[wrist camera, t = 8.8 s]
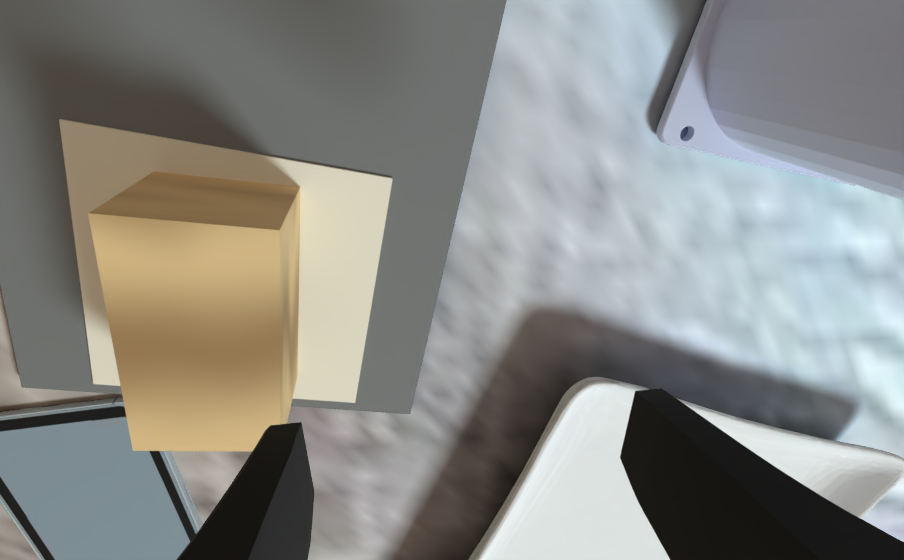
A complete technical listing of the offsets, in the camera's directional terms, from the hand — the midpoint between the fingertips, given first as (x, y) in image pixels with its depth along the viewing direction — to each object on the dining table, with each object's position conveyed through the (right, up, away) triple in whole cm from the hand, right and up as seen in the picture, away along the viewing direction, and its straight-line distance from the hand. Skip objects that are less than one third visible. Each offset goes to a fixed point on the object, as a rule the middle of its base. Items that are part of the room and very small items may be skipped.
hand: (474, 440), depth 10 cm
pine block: (-8, +3, +7) cm, 11 cm away
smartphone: (-16, -8, +13) cm, 22 cm away
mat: (-8, +7, +6) cm, 12 cm away
